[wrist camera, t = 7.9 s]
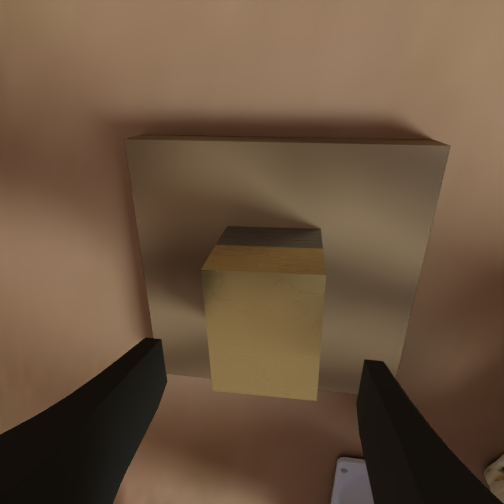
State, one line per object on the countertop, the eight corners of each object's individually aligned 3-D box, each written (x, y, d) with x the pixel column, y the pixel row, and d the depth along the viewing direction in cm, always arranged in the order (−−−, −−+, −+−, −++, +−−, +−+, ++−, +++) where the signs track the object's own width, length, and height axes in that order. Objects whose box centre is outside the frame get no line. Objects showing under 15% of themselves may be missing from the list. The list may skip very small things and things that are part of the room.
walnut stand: (383, 372, 21) (391, 398, 20) (169, 351, 23) (158, 372, 21) (433, 139, 16) (450, 145, 14) (142, 134, 17) (124, 139, 16)
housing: (320, 228, 16) (326, 275, 12) (314, 332, 19) (316, 400, 14) (226, 226, 17) (200, 269, 13) (232, 326, 19) (212, 390, 15)
